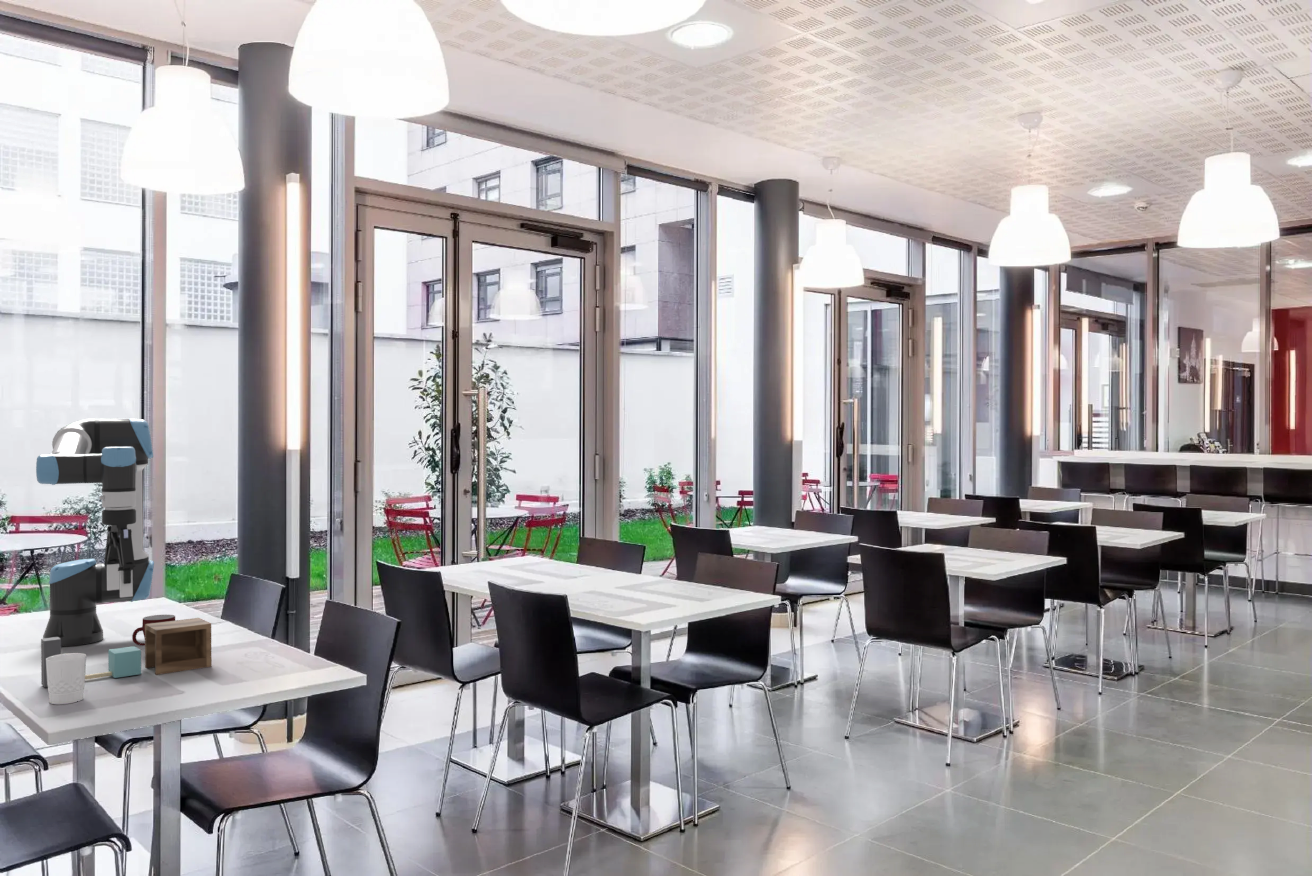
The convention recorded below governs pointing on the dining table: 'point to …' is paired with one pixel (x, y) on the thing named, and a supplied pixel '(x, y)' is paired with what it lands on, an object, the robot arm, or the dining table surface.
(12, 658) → the dining table surface
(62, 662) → the white cup
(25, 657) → the dining table surface
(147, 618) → the mug
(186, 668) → the shelf
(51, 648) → the double-ended block stick
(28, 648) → the dining table surface
